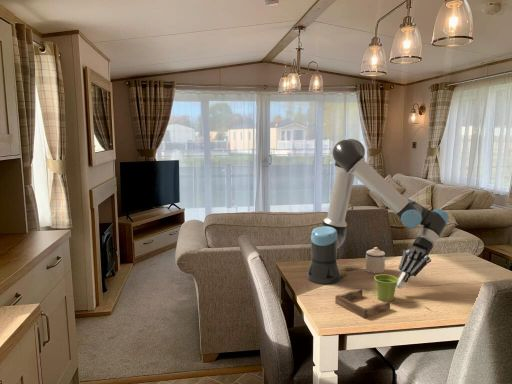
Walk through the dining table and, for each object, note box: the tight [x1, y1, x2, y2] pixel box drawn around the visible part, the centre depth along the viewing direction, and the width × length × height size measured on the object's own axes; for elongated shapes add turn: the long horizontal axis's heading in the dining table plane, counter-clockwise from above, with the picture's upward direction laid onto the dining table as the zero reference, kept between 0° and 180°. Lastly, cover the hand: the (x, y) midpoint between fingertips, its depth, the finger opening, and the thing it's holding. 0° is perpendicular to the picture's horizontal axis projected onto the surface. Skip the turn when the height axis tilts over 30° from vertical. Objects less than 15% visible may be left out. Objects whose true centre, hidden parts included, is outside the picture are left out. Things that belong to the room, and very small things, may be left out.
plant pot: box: [373, 273, 399, 302], centre depth 162 cm, size 9×9×9 cm
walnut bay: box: [334, 288, 391, 319], centre depth 155 cm, size 14×15×3 cm
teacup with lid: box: [365, 246, 386, 274], centre depth 195 cm, size 12×9×12 cm
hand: (397, 286), depth 164 cm, fingers closed
